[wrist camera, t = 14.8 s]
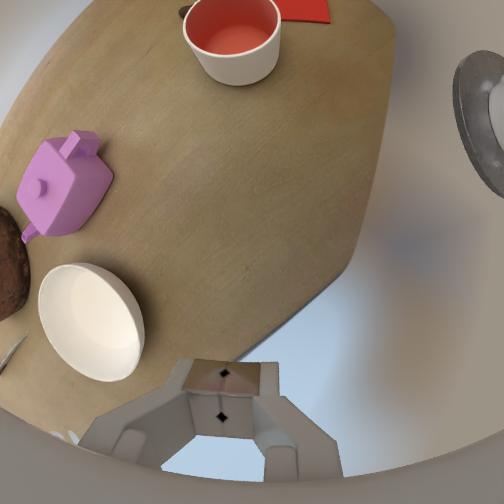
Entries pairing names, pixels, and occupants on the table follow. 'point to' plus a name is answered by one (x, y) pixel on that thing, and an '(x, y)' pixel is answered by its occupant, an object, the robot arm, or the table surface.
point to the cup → (234, 38)
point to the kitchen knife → (11, 353)
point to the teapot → (63, 185)
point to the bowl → (92, 320)
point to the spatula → (294, 10)
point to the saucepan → (12, 267)
